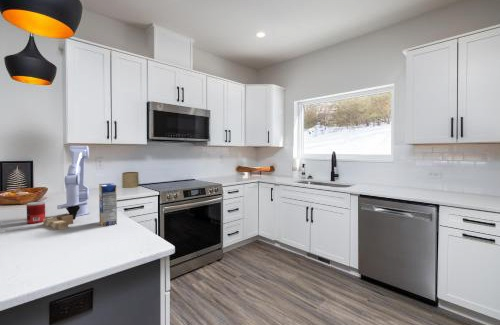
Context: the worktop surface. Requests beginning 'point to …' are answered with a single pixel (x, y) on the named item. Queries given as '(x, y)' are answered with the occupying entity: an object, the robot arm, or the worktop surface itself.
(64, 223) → the tan faceted bar
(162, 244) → the worktop surface
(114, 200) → the beverage box
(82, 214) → the robot arm
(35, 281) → the worktop surface
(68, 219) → the walnut block
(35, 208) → the canned food
